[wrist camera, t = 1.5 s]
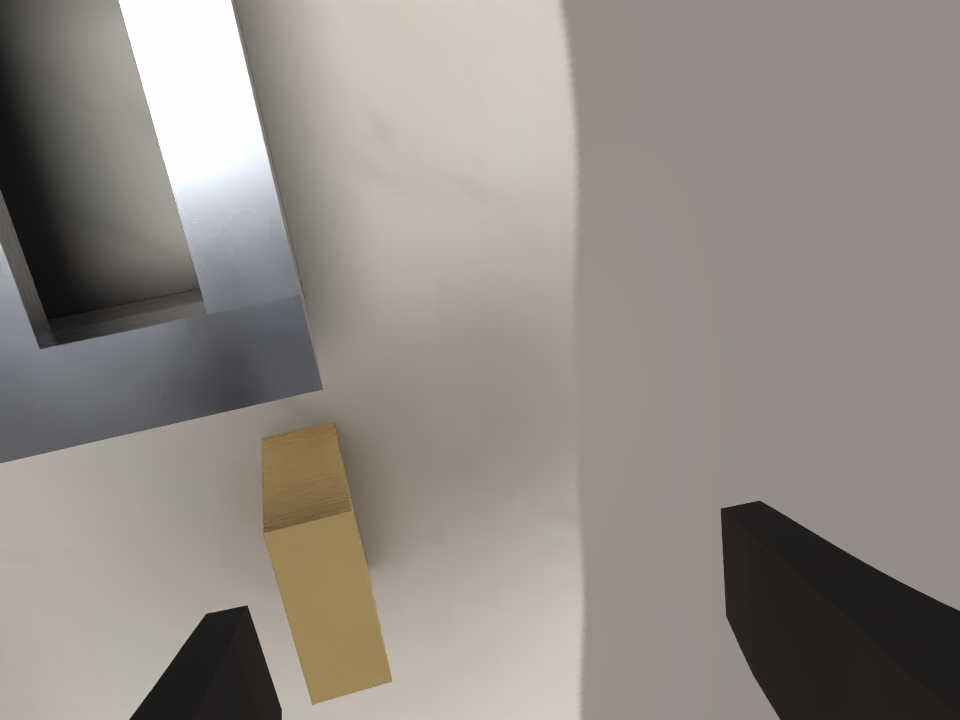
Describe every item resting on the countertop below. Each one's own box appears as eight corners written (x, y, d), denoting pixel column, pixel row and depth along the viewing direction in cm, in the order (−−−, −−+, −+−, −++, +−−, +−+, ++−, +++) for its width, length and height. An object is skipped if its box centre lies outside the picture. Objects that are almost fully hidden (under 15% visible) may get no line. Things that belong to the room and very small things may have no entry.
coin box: (306, 305, 23) (322, 389, 17) (-103, 391, 21) (-229, 515, 15) (205, -123, 19) (185, -191, 13) (-304, -61, 17) (-565, -107, 12)
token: (367, 568, 26) (391, 681, 21) (302, 586, 26) (312, 704, 21) (333, 421, 24) (352, 510, 19) (261, 438, 24) (263, 533, 19)
